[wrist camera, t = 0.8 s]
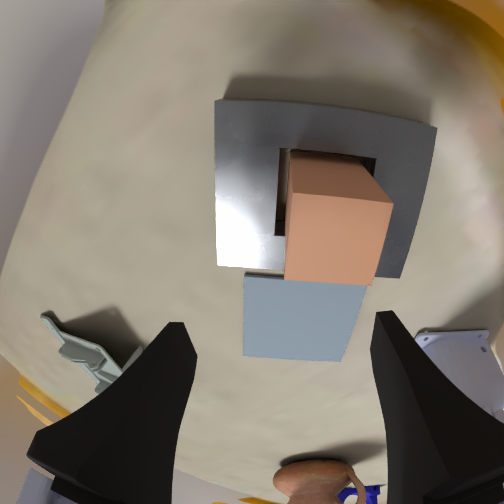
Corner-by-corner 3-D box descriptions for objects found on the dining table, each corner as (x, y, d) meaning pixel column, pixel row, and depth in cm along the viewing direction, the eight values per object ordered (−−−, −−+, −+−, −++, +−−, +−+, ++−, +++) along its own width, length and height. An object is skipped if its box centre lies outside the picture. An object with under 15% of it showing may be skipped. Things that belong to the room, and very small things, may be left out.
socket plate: (422, 122, 15) (437, 127, 13) (391, 261, 20) (399, 278, 18) (222, 98, 16) (214, 100, 14) (223, 248, 21) (217, 265, 19)
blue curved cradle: (379, 484, 55) (380, 503, 50) (370, 488, 57) (371, 507, 52) (340, 486, 54) (340, 507, 49) (332, 490, 57) (331, 509, 52)
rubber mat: (366, 282, 21) (367, 285, 21) (340, 359, 26) (340, 361, 26) (244, 274, 22) (244, 276, 22) (243, 353, 27) (243, 355, 26)
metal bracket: (79, 347, 21) (166, 434, 28) (119, 301, 25) (189, 395, 32) (27, 324, 28) (96, 399, 35) (57, 293, 32) (117, 371, 39)
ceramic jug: (291, 478, 49) (289, 536, 37) (252, 462, 44) (245, 531, 32) (374, 460, 43) (379, 524, 31) (349, 442, 37) (354, 524, 25)
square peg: (356, 158, 17) (393, 203, 11) (346, 217, 19) (371, 285, 13) (289, 151, 17) (292, 192, 11) (285, 212, 19) (284, 279, 13)
